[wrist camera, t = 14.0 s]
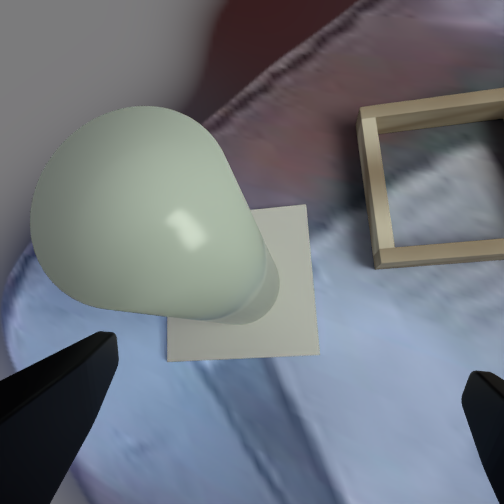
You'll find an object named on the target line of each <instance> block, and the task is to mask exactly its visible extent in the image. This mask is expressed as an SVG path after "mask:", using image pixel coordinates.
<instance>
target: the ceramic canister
mask: <svg viewBox="0 0 504 504" xmlns="http://www.w3.org/2000/svg"><path fill="white" fill-rule="evenodd" d="M30 231H31V239H32V243H33V248H34V251H35V254H36V256H37V259H38V261H39V263H40V265H41V267H42V268H43V270H44V272H45V273H46V275H47V276H48V277H49V279H50V280H51V281H52V282H53V283H54V284H55V285H56V286H57V287H58V288H59V289H60V290H61V291H62V292H64V293H65V294H67V295H68V296H70V297H71V298H73V299H75V300H77V301H79V302H81V303H83V304H86V305H89V306H93V307H96V308H101V309H108V310H116V311H124V312H133V313H141V314H149V315H158V316H166V317H174V318H183V319H191V320H199V321H208V322H216V323H224V324H232V325H244V324H249V323H252V322H254V321H257V320H258V319H260V318H262V317H263V316H264V315H266V314H267V313H268V312H269V311H270V309H271V308H272V307H273V305H274V303H275V302H276V299H277V297H278V293H279V288H280V278H279V273H278V269H277V267H276V264H275V262H274V260H273V258H272V256H271V254H270V252H269V249H268V247H267V245H266V243H265V241H264V239H263V237H262V234H261V232H260V230H259V228H258V226H257V224H256V222H255V220H254V217H253V215H252V213H251V211H250V209H249V207H248V205H247V202H246V200H245V198H244V196H243V194H242V192H241V190H240V187H239V185H238V183H237V181H236V179H235V177H234V175H233V172H232V170H231V168H230V166H229V164H228V162H227V160H226V158H225V155H224V153H223V151H222V150H221V148H220V146H219V145H218V143H217V141H216V140H215V139H214V138H213V137H212V135H211V134H210V133H209V132H208V131H207V130H206V129H205V128H204V127H202V126H201V125H200V124H199V123H197V122H196V121H194V120H193V119H191V118H190V117H188V116H186V115H184V114H182V113H179V112H177V111H173V110H170V109H167V108H161V107H155V106H136V107H128V108H123V109H118V110H115V111H112V112H109V113H106V114H104V115H102V116H99V117H97V118H95V119H93V120H92V121H90V122H88V123H87V124H85V125H83V126H82V127H81V128H79V129H78V130H77V131H75V132H74V133H73V134H72V135H70V136H69V137H68V138H67V139H66V140H65V141H64V142H63V143H62V144H61V145H60V147H59V148H58V149H57V150H56V151H55V152H54V154H53V155H52V157H51V158H50V160H49V161H48V163H47V164H46V166H45V168H44V170H43V172H42V173H41V175H40V178H39V180H38V183H37V185H36V188H35V192H34V196H33V199H32V205H31V211H30Z"/></svg>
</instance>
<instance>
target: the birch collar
mask: <svg viewBox="0 0 504 504" xmlns="http://www.w3.org/2000/svg"><path fill="white" fill-rule="evenodd" d="M495 119H503V120H504V88H499V89H491V90H484V91H477V92H469V93H462V94H455V95H447V96H440V97H432V98H425V99H418V100H410V101H403V102H395V103H388V104H381V105H373V106H366V107H360V109H359V114H358V118H357V122H356V132H357V139H358V147H359V154H360V162H361V169H362V177H363V184H364V192H365V199H366V207H367V214H368V222H369V229H370V237H371V244H372V252H373V259H374V266H375V269H388V268H401V267H414V266H427V265H440V264H453V263H466V262H480V261H493V260H504V238H503V239H491V240H479V241H467V242H455V243H443V244H431V245H419V246H407V247H396V248H395V246H394V239H393V232H392V225H391V219H390V212H389V205H388V199H387V192H386V185H385V178H384V172H383V165H382V158H381V151H380V145H379V138H378V134H383V133H391V132H399V131H407V130H415V129H423V128H431V127H439V126H447V125H455V124H463V123H471V122H479V121H487V120H495Z"/></svg>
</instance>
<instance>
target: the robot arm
mask: <svg viewBox="0 0 504 504" xmlns="http://www.w3.org/2000/svg"><path fill="white" fill-rule="evenodd" d="M118 361H119V357H118V346H117V337H116V334H115V333H113V332H104V331H99V332H96V333H94V334H92V335H90V336H88V337H86V338H84V339H82V340H80V341H79V342H77V343H75V344H73V345H71V346H69V347H67V348H65V349H63V350H61V351H59V352H57V353H55V354H53V355H51V356H49V357H47V358H45V359H43V360H41V361H39V362H37V363H35V364H33V365H31V366H29V367H27V368H25V369H23V370H21V371H19V372H17V373H15V374H13V375H11V376H9V377H7V378H5V379H3V380H1V381H0V504H50V503H51V501H52V499H53V497H54V495H55V493H56V492H57V490H58V488H59V486H60V484H61V482H62V481H63V479H64V477H65V475H66V473H67V472H68V470H69V468H70V466H71V464H72V462H73V461H74V459H75V457H76V455H77V453H78V451H79V450H80V448H81V446H82V444H83V442H84V440H85V439H86V437H87V435H88V433H89V431H90V429H91V427H92V425H93V423H94V421H95V419H96V417H97V415H98V412H99V410H100V408H101V405H102V403H103V400H104V398H105V396H106V393H107V391H108V388H109V386H110V384H111V381H112V379H113V376H114V374H115V372H116V369H117V366H118ZM462 407H463V410H464V413H465V416H466V419H467V421H468V424H469V427H470V430H471V433H472V436H473V439H474V442H475V445H476V448H477V451H478V454H479V457H480V459H481V462H482V465H483V467H484V470H485V472H486V475H487V477H488V479H489V481H490V484H491V486H492V488H493V490H494V493H495V495H496V497H497V499H498V501H499V504H504V380H503V379H501V378H500V377H498V376H497V375H495V374H493V373H491V372H485V371H473V372H471V373H470V375H469V378H468V381H467V383H466V386H465V389H464V391H463V394H462Z"/></svg>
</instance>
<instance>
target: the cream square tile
mask: <svg viewBox="0 0 504 504" xmlns="http://www.w3.org/2000/svg"><path fill="white" fill-rule="evenodd" d="M250 211H251V213H252V215H253V217H254V220H255V222H256V224H257V226H258V228H259V230H260V232H261V234H262V237H263V239H264V241H265V243H266V245H267V247H268V249H269V252H270V254H271V256H272V258H273V260H274V262H275V264H276V267H277V269H278V273H279V278H280V288H279V293H278V297H277V299H276V302H275V303H274V305H273V307H272V308H271V309H270V311H269V312H268V313H267V314H266V315H264V316H263V317H262V318H260V319H258V320H257V321H254V322H252V323H249V324H244V325H232V324H224V323H216V322H208V321H199V320H191V319H183V318H174V317H167V362H178V361H199V360H221V359H242V358H263V357H285V356H306V355H320V350H319V339H318V329H317V318H316V307H315V296H314V285H313V275H312V264H311V253H310V242H309V232H308V221H307V210H306V204H305V205H295V206H286V207H276V208H266V209H256V210H250Z"/></svg>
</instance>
